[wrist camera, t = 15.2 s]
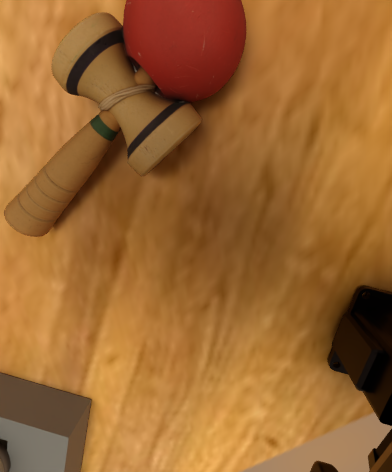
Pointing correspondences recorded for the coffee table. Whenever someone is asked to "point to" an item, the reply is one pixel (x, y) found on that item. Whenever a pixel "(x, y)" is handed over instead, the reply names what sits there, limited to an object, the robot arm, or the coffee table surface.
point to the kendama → (133, 91)
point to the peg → (4, 457)
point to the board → (42, 426)
